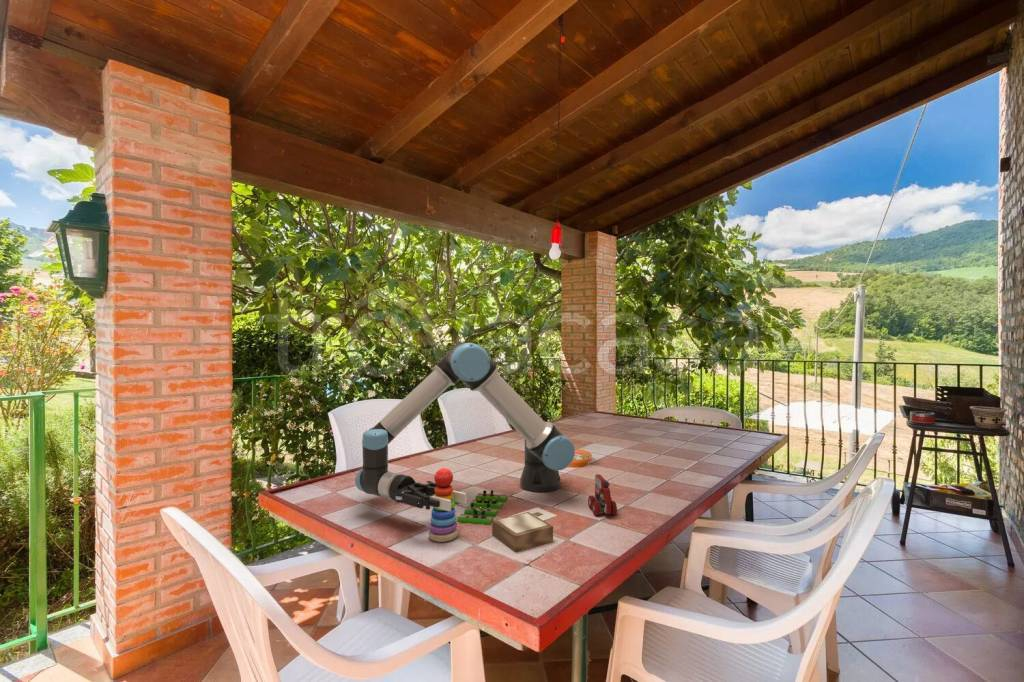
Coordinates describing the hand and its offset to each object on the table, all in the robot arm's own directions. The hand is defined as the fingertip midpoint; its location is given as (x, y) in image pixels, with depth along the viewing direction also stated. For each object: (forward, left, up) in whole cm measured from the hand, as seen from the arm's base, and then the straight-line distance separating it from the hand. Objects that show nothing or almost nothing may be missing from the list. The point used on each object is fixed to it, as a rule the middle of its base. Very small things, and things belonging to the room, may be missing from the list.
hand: (458, 502), depth 124 cm
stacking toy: (+2, -5, -11) cm, 12 cm away
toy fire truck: (-48, +4, -11) cm, 49 cm away
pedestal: (-16, +7, -11) cm, 20 cm away
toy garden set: (-14, -20, -11) cm, 26 cm away
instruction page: (-27, -4, -11) cm, 29 cm away
